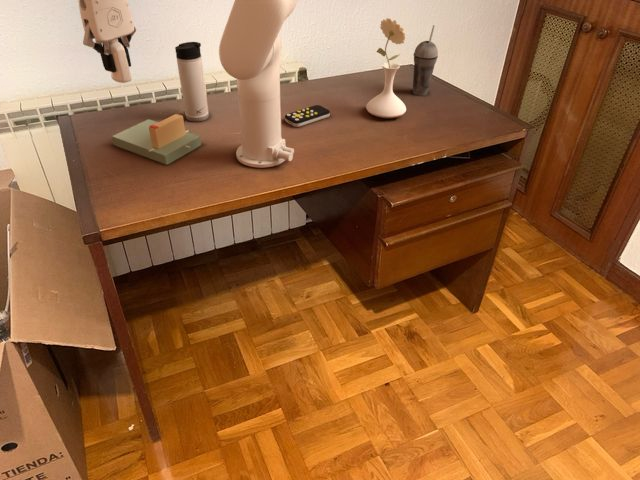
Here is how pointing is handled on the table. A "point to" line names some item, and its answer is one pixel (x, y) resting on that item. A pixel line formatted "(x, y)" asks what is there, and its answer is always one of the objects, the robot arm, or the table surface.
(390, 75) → the flower in vase
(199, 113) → the travel mug
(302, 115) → the remote control
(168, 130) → the orange block
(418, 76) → the beverage cup
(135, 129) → the green flat block
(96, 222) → the table surface
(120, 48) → the eye dropper bottle
